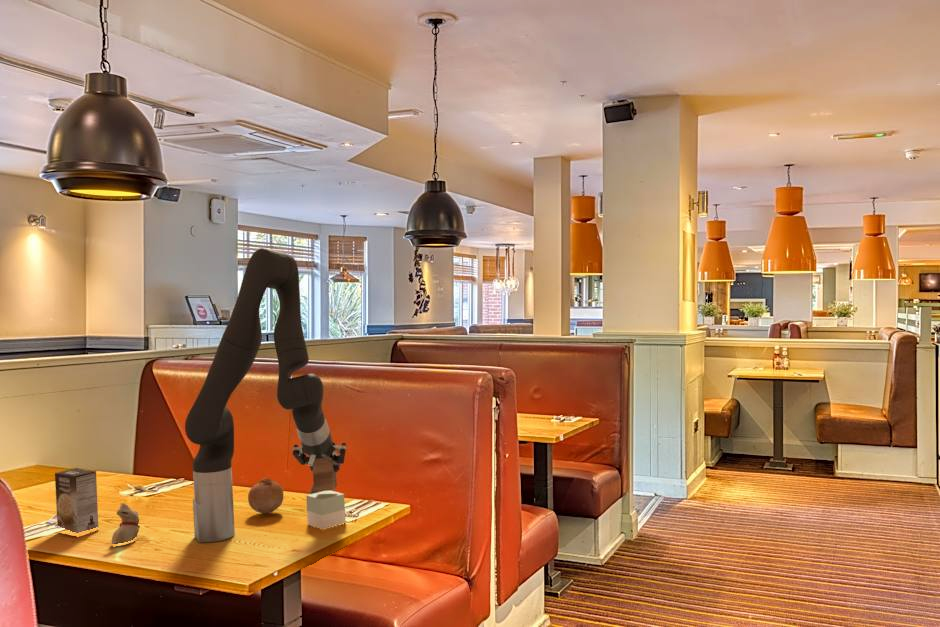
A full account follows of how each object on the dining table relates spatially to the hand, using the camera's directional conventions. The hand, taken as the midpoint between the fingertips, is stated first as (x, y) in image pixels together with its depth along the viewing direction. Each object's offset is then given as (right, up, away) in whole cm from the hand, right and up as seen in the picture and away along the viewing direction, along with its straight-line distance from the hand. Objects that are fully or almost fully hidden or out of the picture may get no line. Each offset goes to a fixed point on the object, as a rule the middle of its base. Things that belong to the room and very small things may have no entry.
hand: (326, 469), depth 206 cm
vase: (-4, -14, +15) cm, 20 cm away
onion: (-18, -14, +10) cm, 25 cm away
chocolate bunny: (-48, -16, -11) cm, 52 cm away
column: (0, -5, -2) cm, 5 cm away
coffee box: (-65, -17, 0) cm, 67 cm away
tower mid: (0, -10, -2) cm, 10 cm away
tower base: (0, -14, -2) cm, 14 cm away
